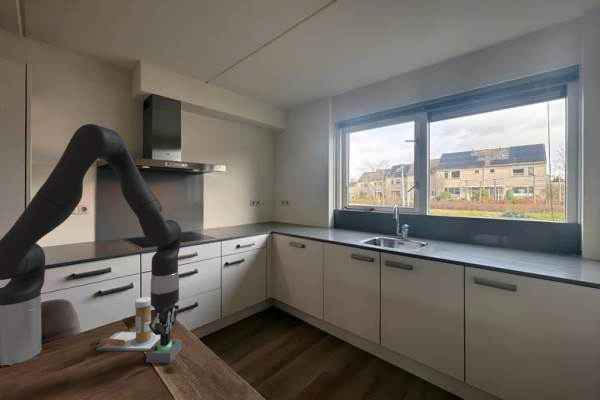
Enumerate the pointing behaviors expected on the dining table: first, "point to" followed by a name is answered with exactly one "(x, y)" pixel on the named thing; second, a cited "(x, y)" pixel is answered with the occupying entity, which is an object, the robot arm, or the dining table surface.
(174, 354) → the button box
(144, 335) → the sprinkles bottle
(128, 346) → the tray with round recess
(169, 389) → the dining table surface
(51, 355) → the dining table surface
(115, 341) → the pink rounded rod
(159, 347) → the button
